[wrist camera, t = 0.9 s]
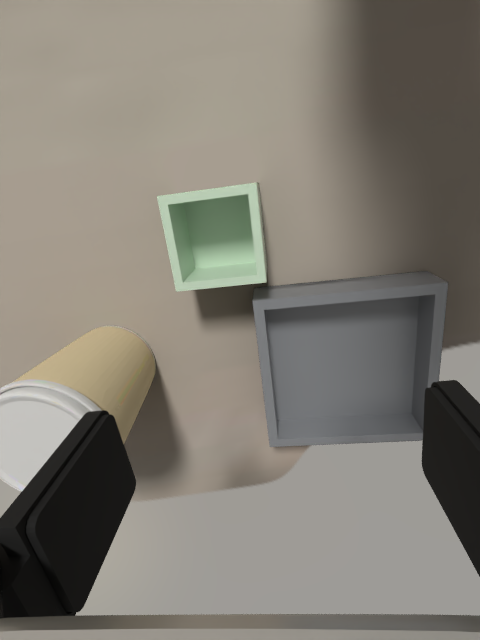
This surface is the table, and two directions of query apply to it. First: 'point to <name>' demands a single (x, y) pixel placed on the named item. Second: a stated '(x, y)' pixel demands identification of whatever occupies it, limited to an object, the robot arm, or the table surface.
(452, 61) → the table surface
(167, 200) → the box
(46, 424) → the coffee cup
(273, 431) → the large crate
